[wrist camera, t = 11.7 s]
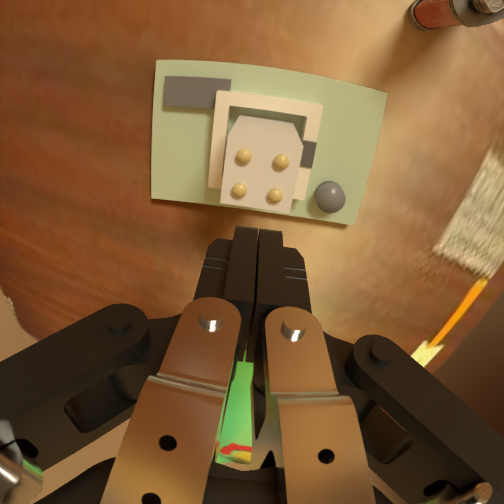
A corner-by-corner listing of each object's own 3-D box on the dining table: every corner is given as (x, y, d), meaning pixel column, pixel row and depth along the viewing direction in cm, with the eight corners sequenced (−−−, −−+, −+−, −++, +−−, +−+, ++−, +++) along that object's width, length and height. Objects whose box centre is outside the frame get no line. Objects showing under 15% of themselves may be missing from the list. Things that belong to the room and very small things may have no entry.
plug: (234, 162, 25) (219, 205, 18) (240, 113, 23) (227, 136, 16) (284, 169, 25) (290, 215, 18) (293, 121, 23) (304, 148, 16)
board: (155, 193, 28) (145, 206, 25) (160, 60, 21) (149, 59, 19) (351, 220, 28) (358, 234, 26) (384, 92, 22) (396, 95, 19)
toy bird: (351, 343, 37) (371, 449, 25) (297, 406, 46) (299, 490, 34) (209, 308, 35) (185, 427, 23) (185, 383, 44) (167, 472, 32)
